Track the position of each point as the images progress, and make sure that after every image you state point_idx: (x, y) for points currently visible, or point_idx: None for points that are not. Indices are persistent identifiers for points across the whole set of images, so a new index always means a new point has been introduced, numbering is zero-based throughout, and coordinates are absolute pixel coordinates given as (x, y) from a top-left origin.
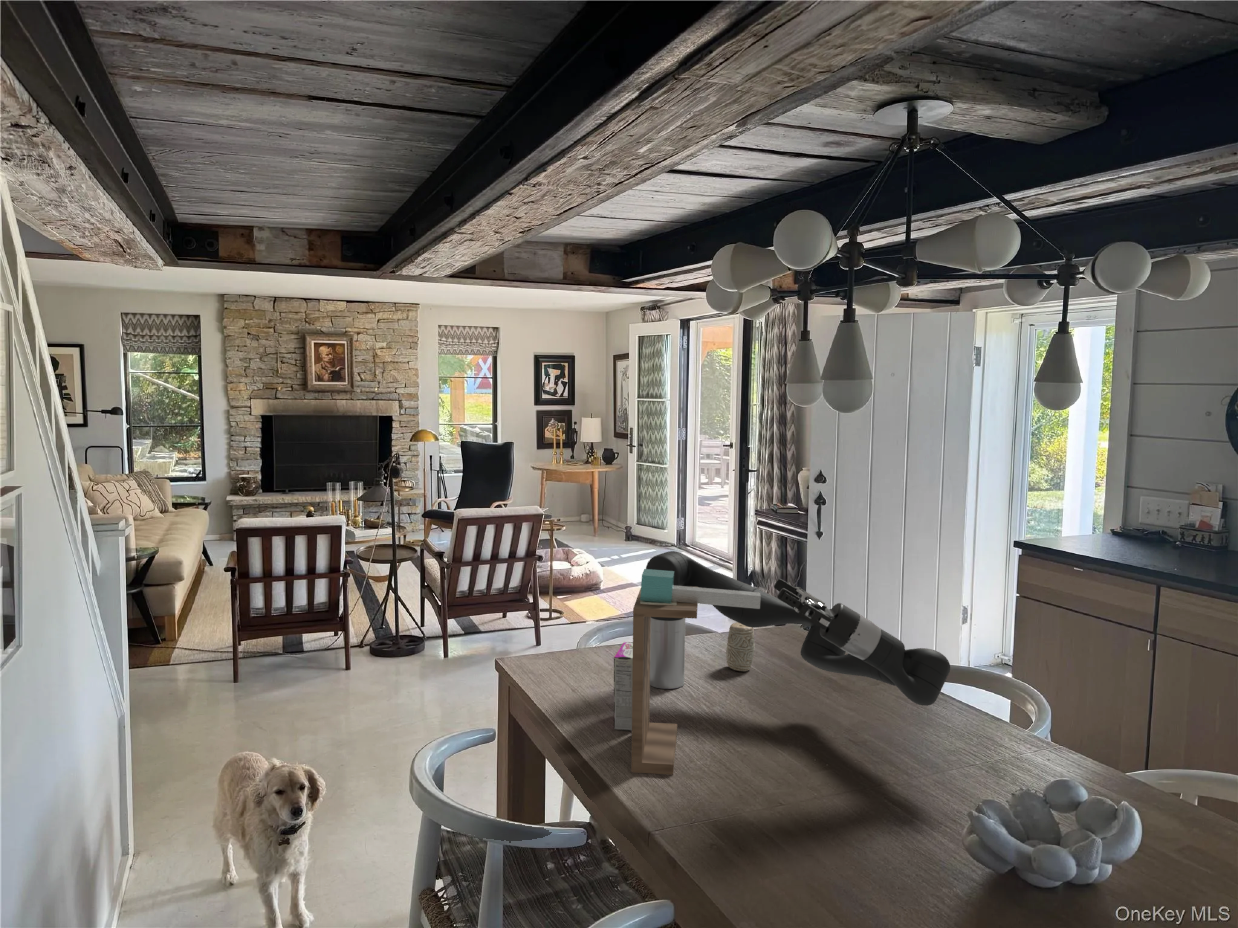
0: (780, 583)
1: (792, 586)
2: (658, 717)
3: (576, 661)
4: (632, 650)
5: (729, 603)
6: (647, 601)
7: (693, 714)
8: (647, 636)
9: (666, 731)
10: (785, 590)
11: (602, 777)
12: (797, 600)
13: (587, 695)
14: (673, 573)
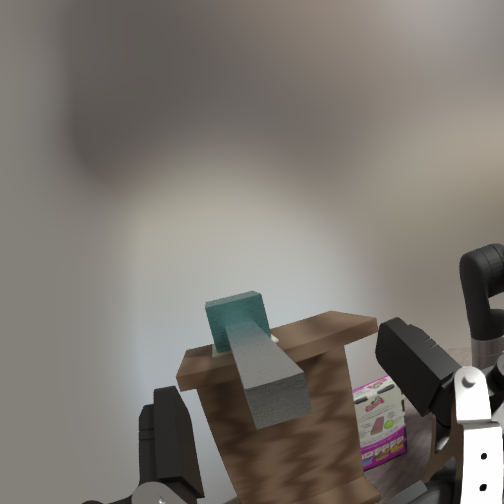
0: (389, 343)
1: (430, 368)
2: (408, 465)
3: (456, 360)
4: (367, 392)
5: (241, 382)
6: None
7: None
8: None
9: (349, 498)
10: (156, 400)
11: (229, 501)
12: (142, 476)
13: (405, 408)
14: (242, 298)
